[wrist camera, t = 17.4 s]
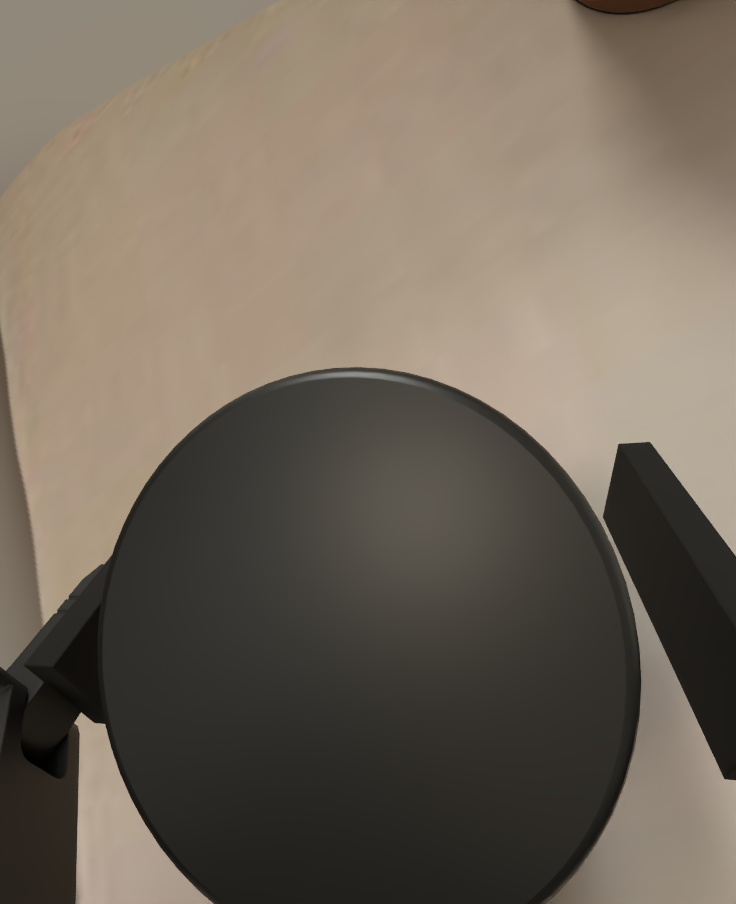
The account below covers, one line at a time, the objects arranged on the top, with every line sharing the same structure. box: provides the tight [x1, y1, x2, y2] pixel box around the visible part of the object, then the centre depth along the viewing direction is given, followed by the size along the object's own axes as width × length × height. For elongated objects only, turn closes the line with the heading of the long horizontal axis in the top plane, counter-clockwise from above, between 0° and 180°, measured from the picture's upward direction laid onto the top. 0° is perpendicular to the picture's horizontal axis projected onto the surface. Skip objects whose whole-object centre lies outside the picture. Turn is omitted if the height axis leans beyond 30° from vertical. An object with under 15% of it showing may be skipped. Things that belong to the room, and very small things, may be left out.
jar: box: [97, 367, 641, 904], centre depth 12 cm, size 9×8×12 cm
